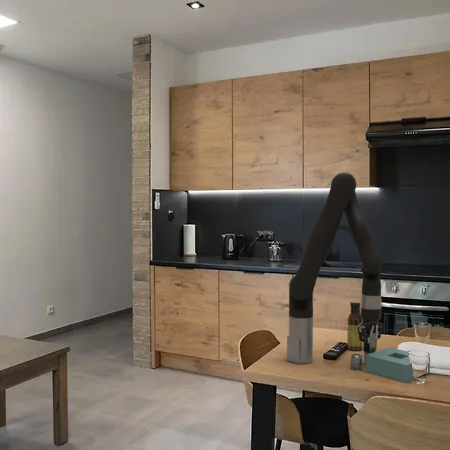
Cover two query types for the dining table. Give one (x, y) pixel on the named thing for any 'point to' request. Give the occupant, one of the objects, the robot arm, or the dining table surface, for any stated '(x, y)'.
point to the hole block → (391, 364)
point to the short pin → (356, 361)
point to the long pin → (371, 345)
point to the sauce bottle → (354, 327)
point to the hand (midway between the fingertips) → (369, 351)
